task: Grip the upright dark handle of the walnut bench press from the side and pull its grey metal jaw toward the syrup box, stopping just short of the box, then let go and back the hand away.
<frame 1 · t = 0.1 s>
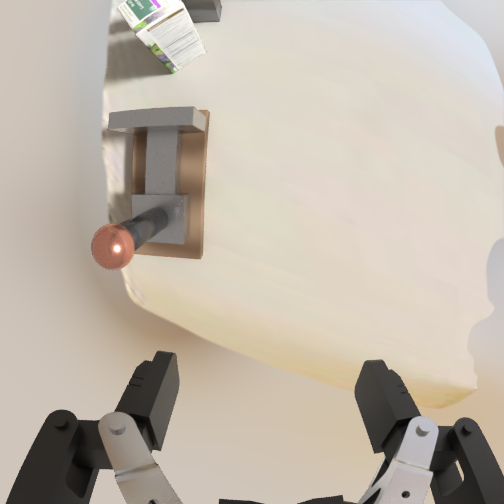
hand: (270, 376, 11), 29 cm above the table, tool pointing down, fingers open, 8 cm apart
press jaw: (139, 182, 27), point 11 cm above the table, slide at 0.0 cm
press bench: (169, 183, 37), on the table
syrup box: (181, 50, 31), on the table
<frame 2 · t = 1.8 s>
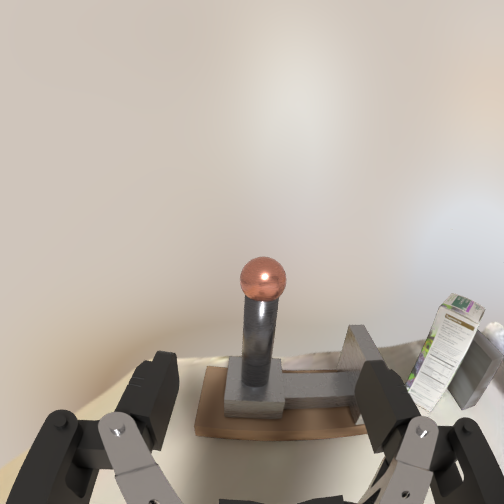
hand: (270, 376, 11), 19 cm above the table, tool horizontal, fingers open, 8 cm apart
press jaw: (309, 340, 26), point 11 cm above the table, slide at 0.0 cm
press bench: (285, 408, 30), on the table
syrup box: (422, 395, 30), on the table
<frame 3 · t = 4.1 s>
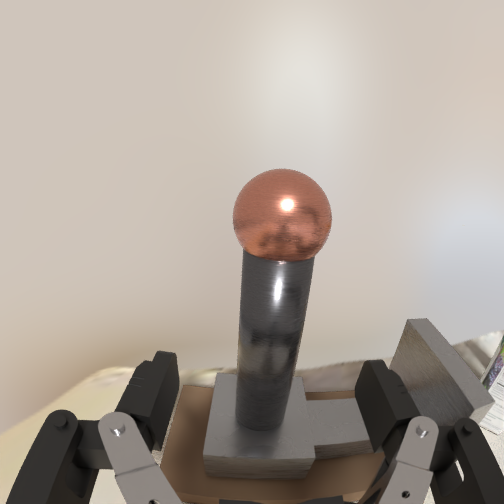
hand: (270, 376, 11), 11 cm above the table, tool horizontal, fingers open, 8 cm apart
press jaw: (362, 346, 13), point 11 cm above the table, slide at 0.0 cm
press bench: (307, 452, 17), on the table
syrup box: (486, 413, 17), on the table
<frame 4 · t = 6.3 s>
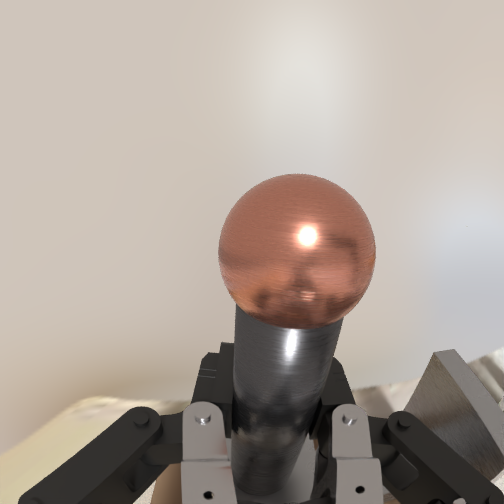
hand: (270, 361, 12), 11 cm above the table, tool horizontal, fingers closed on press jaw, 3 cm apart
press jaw: (391, 406, 9), point 11 cm above the table, slide at 0.0 cm, touching gripper
press bench: (313, 499, 12), on the table
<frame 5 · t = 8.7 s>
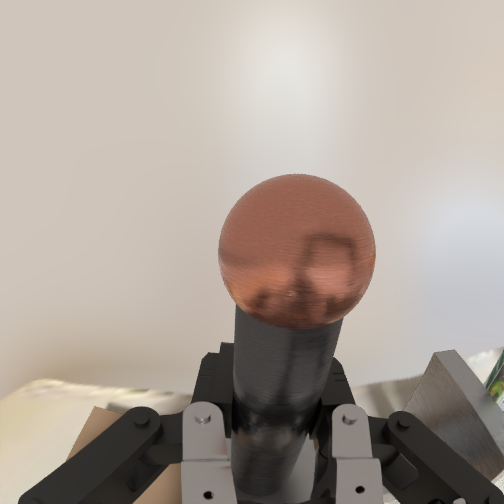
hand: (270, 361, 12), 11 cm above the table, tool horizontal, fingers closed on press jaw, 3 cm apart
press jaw: (391, 406, 9), point 11 cm above the table, slide at 6.4 cm, touching gripper
press bench: (215, 499, 12), on the table
syrup box: (462, 461, 13), on the table
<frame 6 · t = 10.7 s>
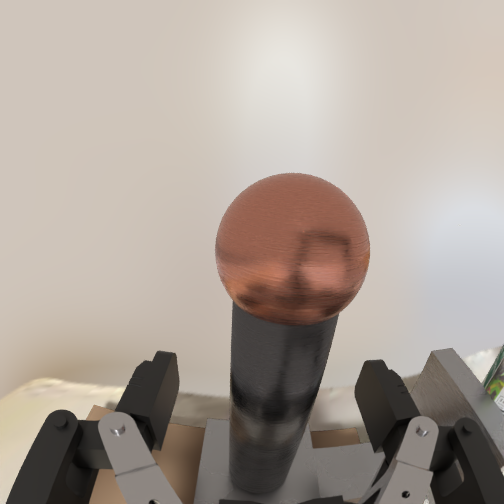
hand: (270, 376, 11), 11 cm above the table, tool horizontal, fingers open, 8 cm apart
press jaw: (388, 404, 9), point 11 cm above the table, slide at 6.4 cm
press bench: (214, 497, 13), on the table
syrup box: (460, 459, 13), on the table
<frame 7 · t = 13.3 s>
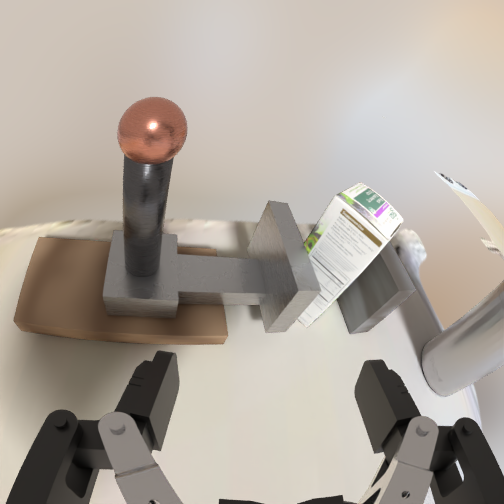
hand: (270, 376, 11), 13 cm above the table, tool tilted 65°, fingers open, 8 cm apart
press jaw: (213, 220, 20), point 11 cm above the table, slide at 6.4 cm
press bench: (118, 294, 25), on the table
syrup box: (301, 300, 32), on the table
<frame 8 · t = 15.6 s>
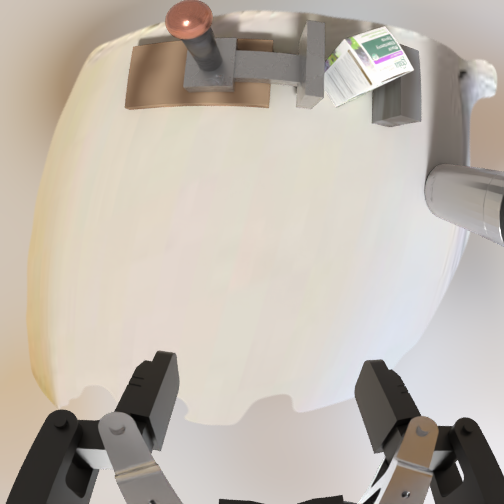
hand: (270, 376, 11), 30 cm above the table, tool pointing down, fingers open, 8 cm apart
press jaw: (250, 45, 23), point 11 cm above the table, slide at 6.4 cm
press bench: (198, 73, 33), on the table
syrup box: (340, 85, 33), on the table
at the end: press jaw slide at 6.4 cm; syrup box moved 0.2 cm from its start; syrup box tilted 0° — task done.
